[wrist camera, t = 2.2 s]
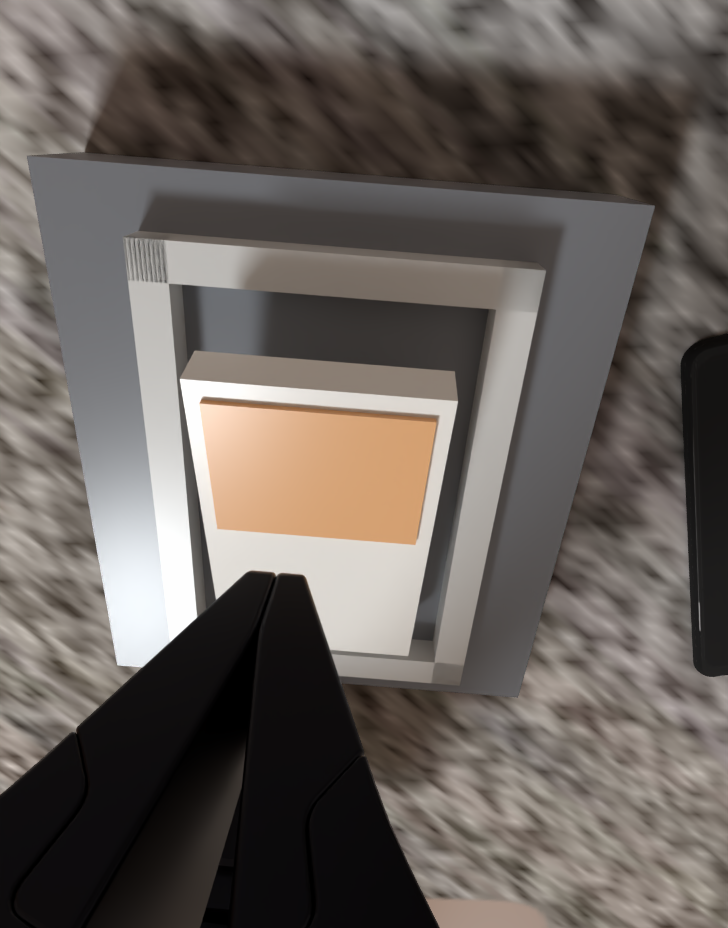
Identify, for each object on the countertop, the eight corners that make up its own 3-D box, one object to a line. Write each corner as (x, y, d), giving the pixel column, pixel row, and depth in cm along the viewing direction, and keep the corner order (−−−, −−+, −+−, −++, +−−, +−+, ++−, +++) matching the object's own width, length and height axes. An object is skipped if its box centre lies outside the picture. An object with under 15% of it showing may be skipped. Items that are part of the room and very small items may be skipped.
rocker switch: (408, 624, 20) (408, 660, 19) (231, 610, 20) (221, 645, 19) (454, 371, 14) (458, 405, 13) (194, 350, 14) (177, 382, 13)
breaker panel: (504, 638, 25) (524, 725, 21) (146, 609, 25) (104, 691, 22) (614, 194, 17) (676, 211, 13) (83, 152, 17) (-2, 157, 13)
